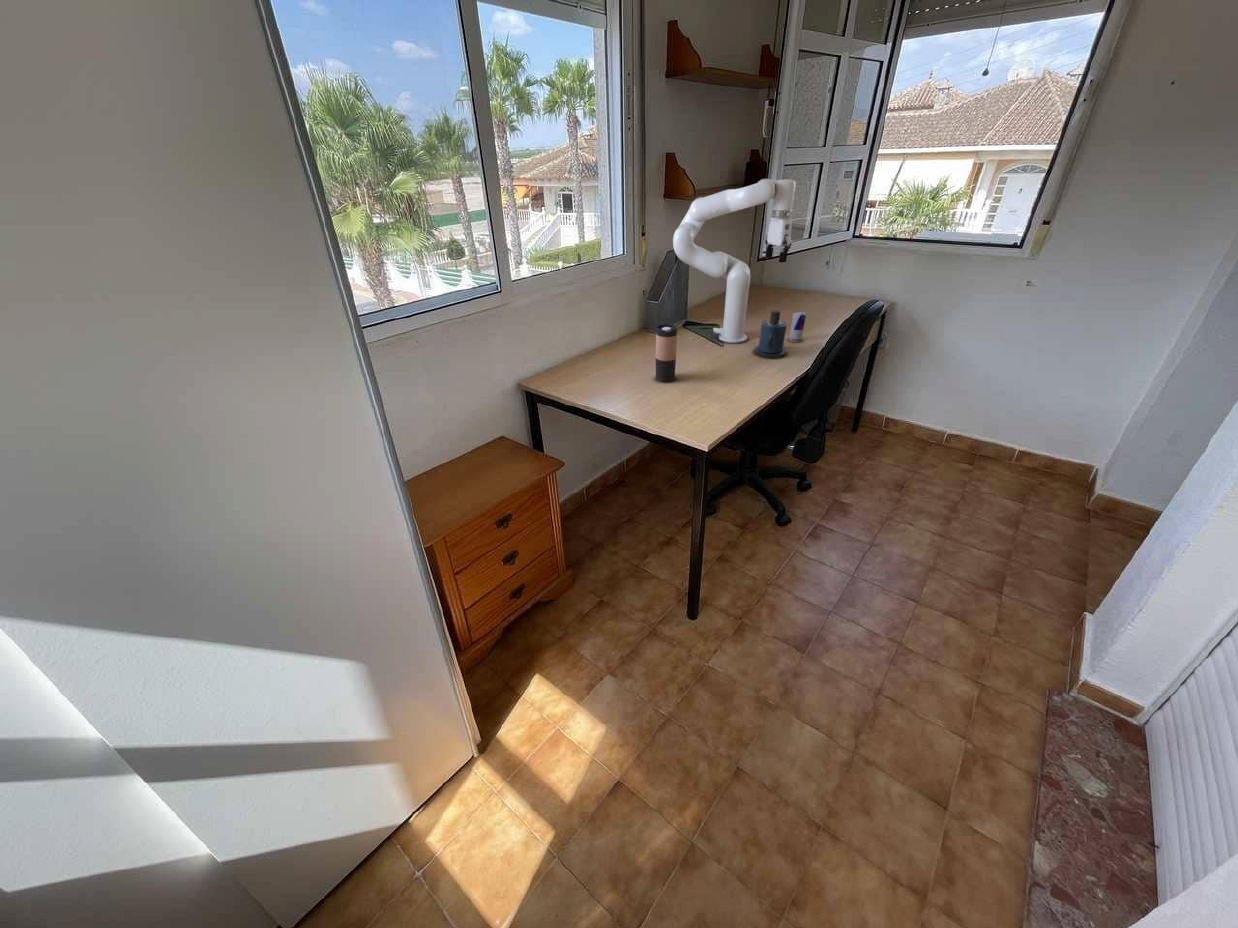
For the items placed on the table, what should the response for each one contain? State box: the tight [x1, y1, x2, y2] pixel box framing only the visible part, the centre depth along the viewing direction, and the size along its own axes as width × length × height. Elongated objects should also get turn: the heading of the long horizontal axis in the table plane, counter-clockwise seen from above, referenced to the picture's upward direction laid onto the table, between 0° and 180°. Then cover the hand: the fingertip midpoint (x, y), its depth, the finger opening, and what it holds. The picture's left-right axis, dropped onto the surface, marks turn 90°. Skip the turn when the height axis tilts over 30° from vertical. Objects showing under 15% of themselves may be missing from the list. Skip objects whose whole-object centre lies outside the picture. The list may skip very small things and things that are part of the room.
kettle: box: [758, 309, 788, 353], centre depth 216 cm, size 16×10×16 cm, turn 160°
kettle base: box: [753, 345, 787, 360], centre depth 221 cm, size 13×13×2 cm
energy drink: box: [788, 311, 807, 343], centre depth 231 cm, size 5×5×12 cm
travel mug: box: [655, 323, 678, 383], centre depth 194 cm, size 8×8×20 cm
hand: (775, 260), depth 217 cm, fingers open, 9 cm apart
